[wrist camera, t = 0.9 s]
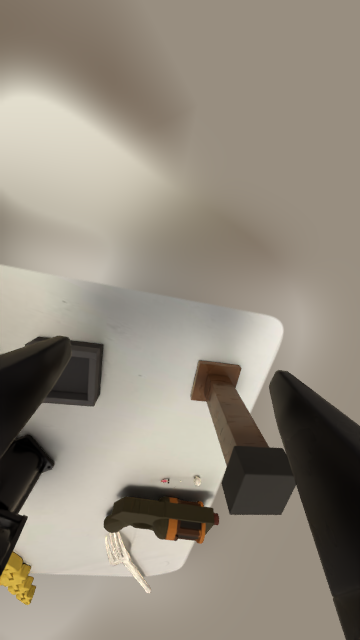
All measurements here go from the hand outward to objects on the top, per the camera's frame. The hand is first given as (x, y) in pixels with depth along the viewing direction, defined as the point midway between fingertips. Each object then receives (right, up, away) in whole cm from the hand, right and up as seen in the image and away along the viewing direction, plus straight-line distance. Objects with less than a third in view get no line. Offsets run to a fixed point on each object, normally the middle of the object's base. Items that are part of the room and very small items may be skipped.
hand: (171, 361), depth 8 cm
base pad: (-13, -4, +15) cm, 20 cm away
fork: (-8, -45, +26) cm, 53 cm away
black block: (+6, -10, +7) cm, 13 cm away
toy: (-32, -44, +25) cm, 60 cm away
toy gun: (-4, -35, +24) cm, 43 cm away
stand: (+5, -7, +17) cm, 19 cm away
